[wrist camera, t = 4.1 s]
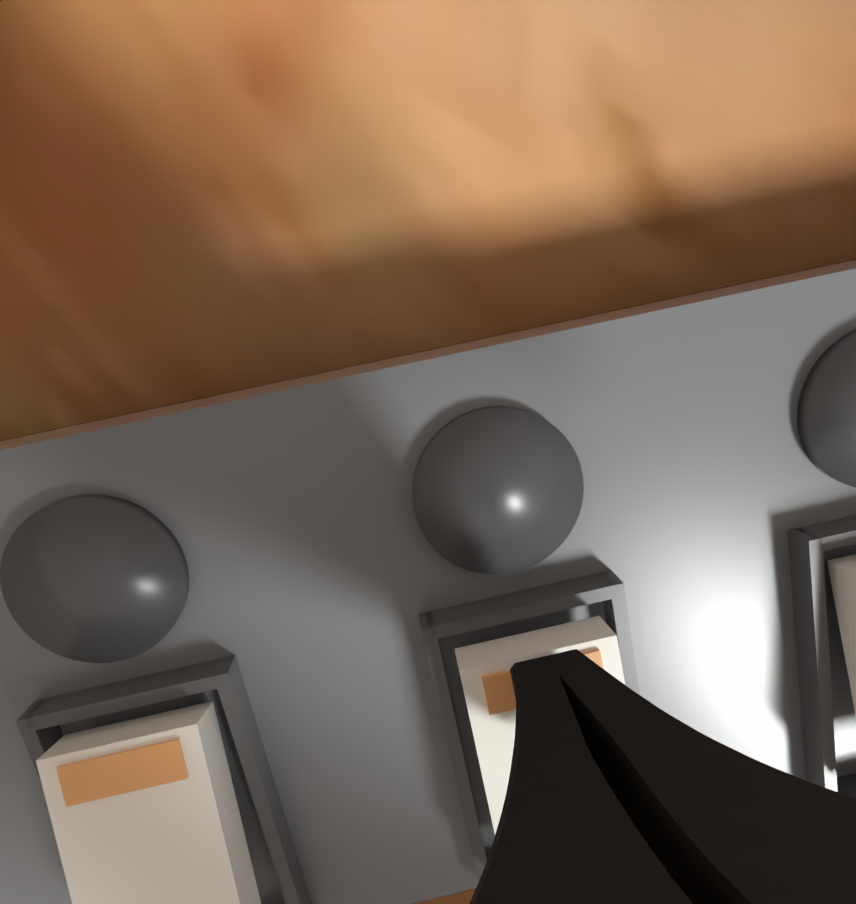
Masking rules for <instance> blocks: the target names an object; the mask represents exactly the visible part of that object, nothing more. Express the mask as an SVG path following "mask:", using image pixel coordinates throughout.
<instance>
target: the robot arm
mask: <svg viewBox="0 0 856 904" xmlns="http://www.w3.org/2000/svg"><path fill="white" fill-rule="evenodd" d="M510 673H511V678H512V684H513V689H514V694H515V699H516V722H515V740H514V748H513V755H512V763H511V770H510V776H509V781H508V787H507V792H506V796H505V800H504V805H503V809H502V813H501V817H500V820H499V824H498V827H497V831H496V834H495V837H494V841H493V844H492V847H491V850H490V853H489V856H488V859H487V862H486V865H485V868H484V870H483V873H482V875H481V877H480V880H479V882H478V885H477V887H476V890H475V892H474V895H473V897H472V900H471V902H470V904H856V798H854V797H850V796H847V795H844V794H842V793H839V792H836V791H833V790H830V789H827V788H824V787H822V786H819V785H816V784H813V783H811V782H808V781H806V780H803V779H801V778H798V777H796V776H793V775H791V774H788V773H786V772H783V771H781V770H778V769H776V768H773V767H771V766H769V765H766V764H764V763H762V762H759V761H757V760H755V759H753V758H750V757H748V756H746V755H744V754H742V753H740V752H738V751H736V750H734V749H732V748H730V747H728V746H726V745H724V744H722V743H720V742H718V741H715V740H713V739H712V738H710V737H708V736H706V735H704V734H702V733H700V732H698V731H697V730H695V729H693V728H691V727H690V726H688V725H686V724H685V723H683V722H681V721H680V720H678V719H676V718H674V717H673V716H671V715H669V714H668V713H666V712H665V711H663V710H661V709H660V708H658V707H657V706H655V705H654V704H652V703H651V702H649V701H648V700H646V699H645V698H643V697H642V696H640V695H639V694H637V693H636V692H634V691H633V690H632V689H630V688H629V687H627V686H626V685H625V684H623V683H622V682H620V681H619V680H618V679H616V678H615V677H614V676H612V675H611V674H609V673H608V672H607V671H605V670H604V669H603V668H601V667H600V666H599V665H597V664H596V663H595V662H594V661H592V660H591V659H590V658H588V657H587V656H586V655H584V654H583V653H581V652H580V651H579V650H577V649H574V650H569V651H565V652H561V653H556V654H552V655H548V656H543V657H539V658H535V659H530V660H526V661H521V662H517V663H514V665H513V666H512V667H511V669H510Z"/></svg>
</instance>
